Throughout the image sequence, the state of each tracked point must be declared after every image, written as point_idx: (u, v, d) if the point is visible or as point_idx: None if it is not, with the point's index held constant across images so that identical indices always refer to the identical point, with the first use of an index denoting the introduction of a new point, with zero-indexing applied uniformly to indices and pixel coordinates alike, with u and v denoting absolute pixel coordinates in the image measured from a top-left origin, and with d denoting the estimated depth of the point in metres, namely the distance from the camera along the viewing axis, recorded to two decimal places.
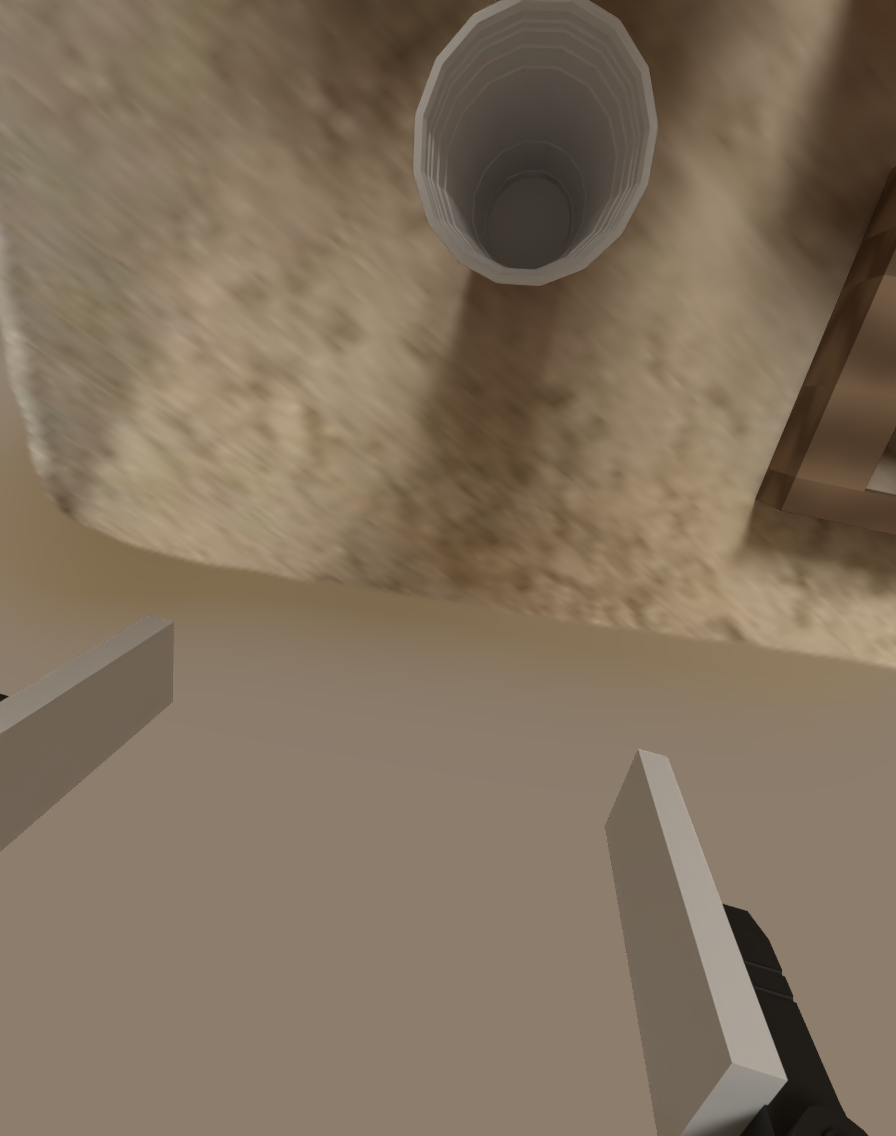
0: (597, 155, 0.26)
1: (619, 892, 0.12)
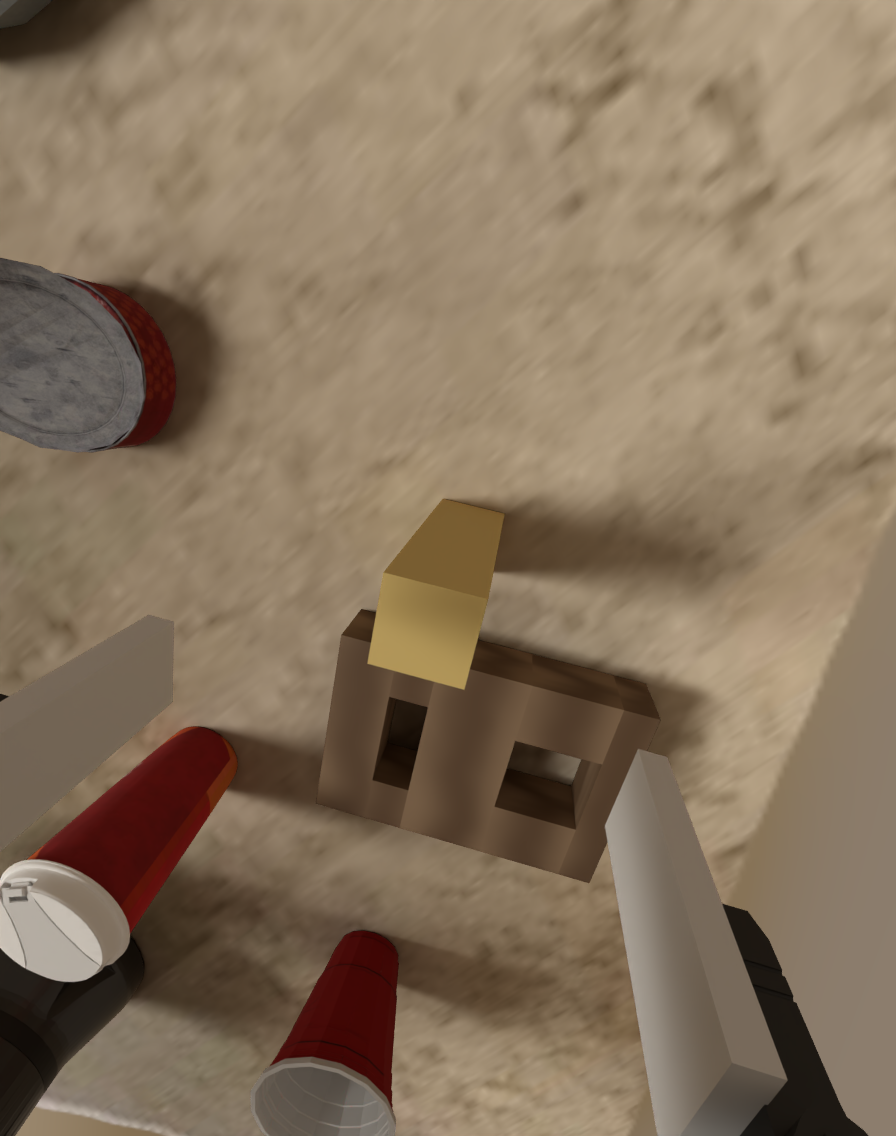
0: None
1: (620, 892, 0.12)
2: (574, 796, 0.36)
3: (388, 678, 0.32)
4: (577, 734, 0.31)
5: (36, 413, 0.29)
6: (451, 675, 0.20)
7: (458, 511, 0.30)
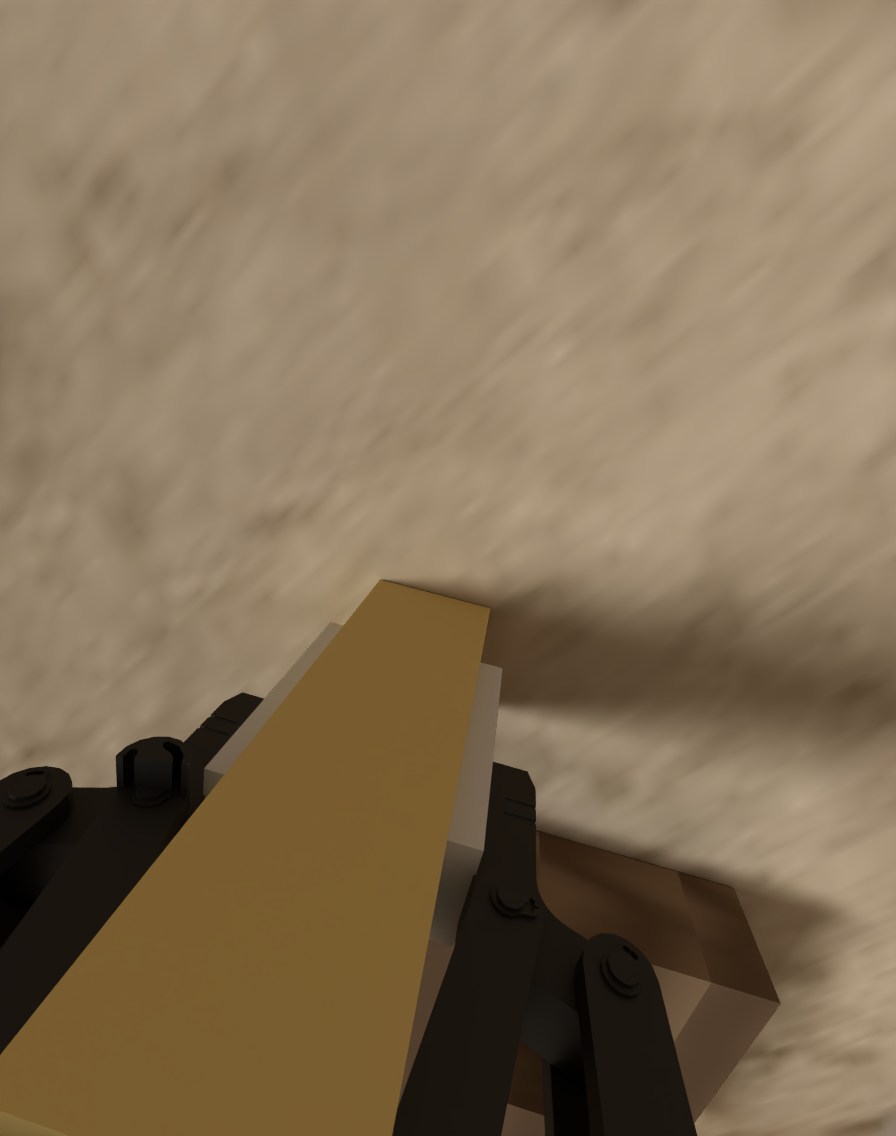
0: None
1: None
2: None
3: None
4: None
5: None
6: None
7: (400, 615, 0.16)
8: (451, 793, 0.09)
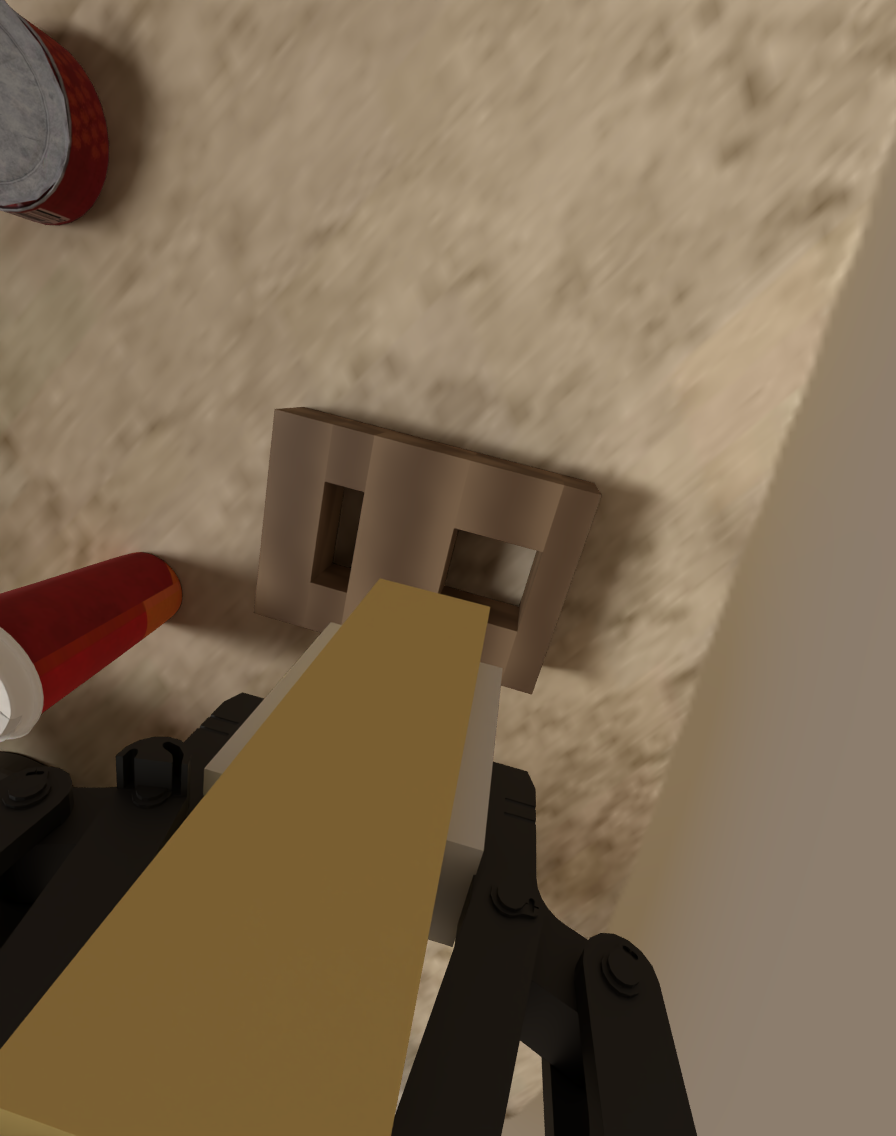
0: None
1: None
2: (520, 609, 0.35)
3: (323, 459, 0.31)
4: (517, 517, 0.30)
5: None
6: None
7: (400, 614, 0.16)
8: (451, 791, 0.09)
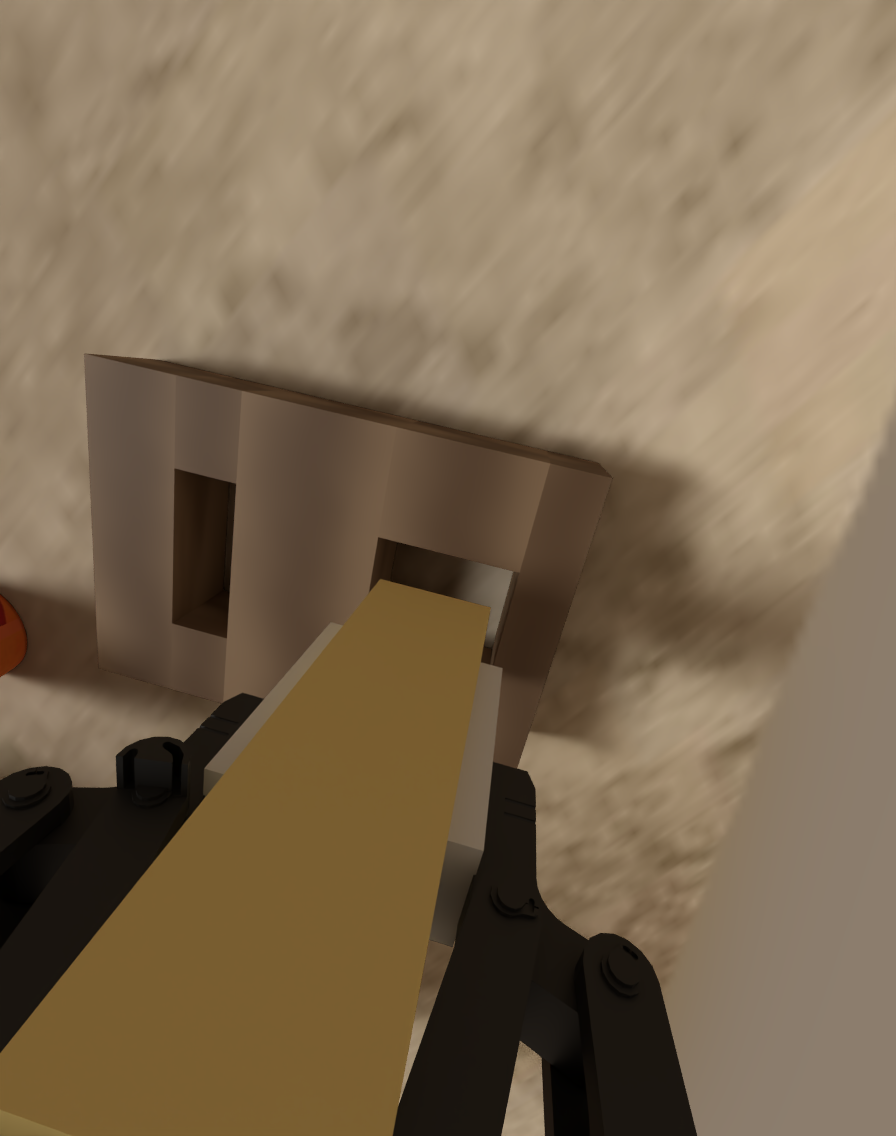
0: None
1: None
2: (491, 655, 0.23)
3: (167, 433, 0.19)
4: (476, 518, 0.19)
5: None
6: None
7: (400, 614, 0.16)
8: (451, 792, 0.09)
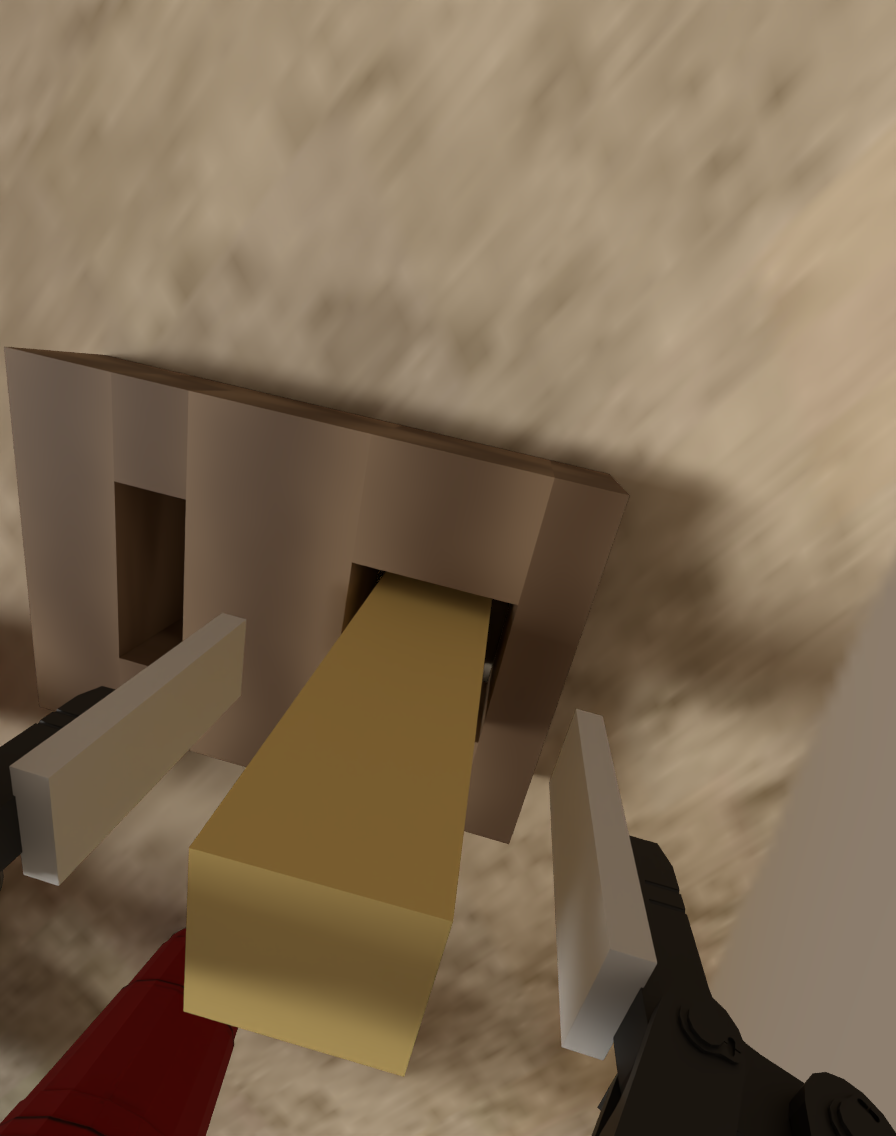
0: None
1: (554, 836, 0.13)
2: (486, 693, 0.20)
3: (105, 440, 0.17)
4: (466, 541, 0.16)
5: None
6: (373, 1050, 0.09)
7: (419, 581, 0.18)
8: (475, 703, 0.12)
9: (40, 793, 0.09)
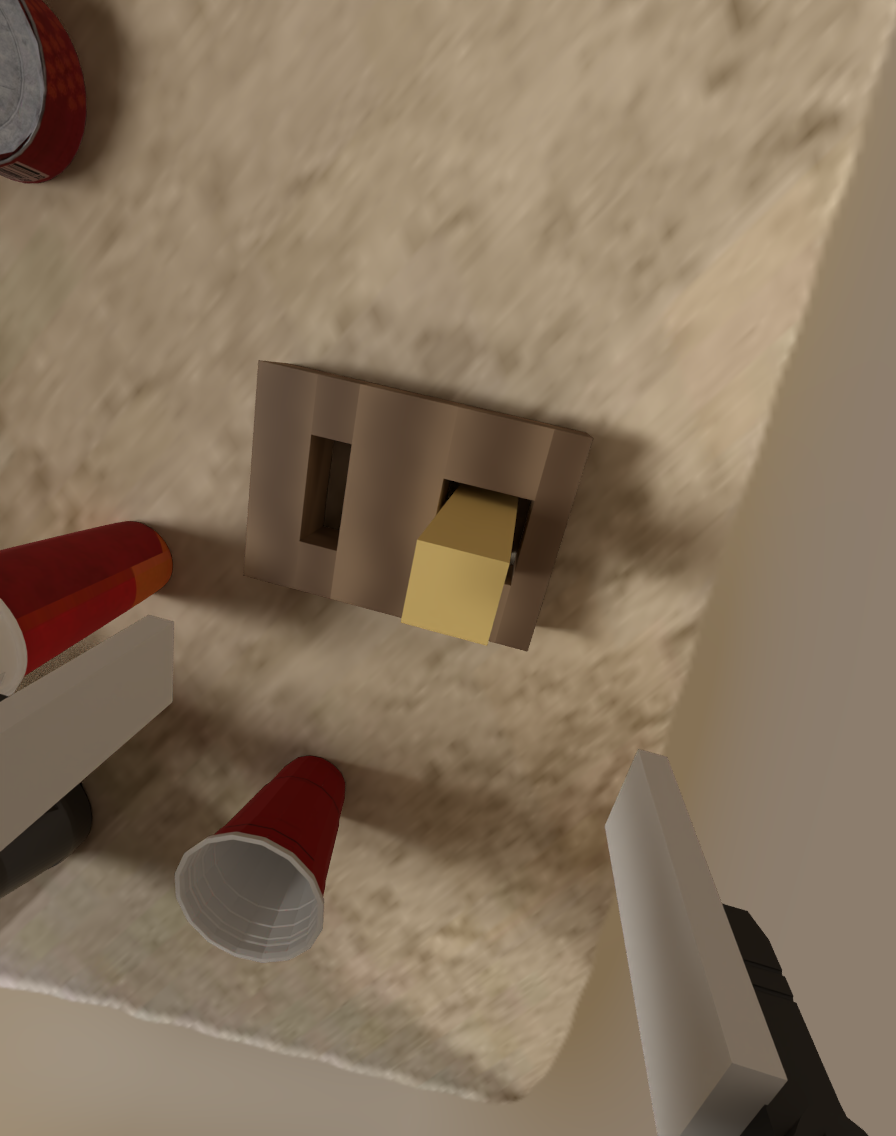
0: None
1: (619, 891, 0.12)
2: (513, 566, 0.34)
3: (309, 411, 0.30)
4: (507, 464, 0.29)
5: None
6: (475, 632, 0.22)
7: (476, 493, 0.32)
8: (512, 529, 0.26)
9: None
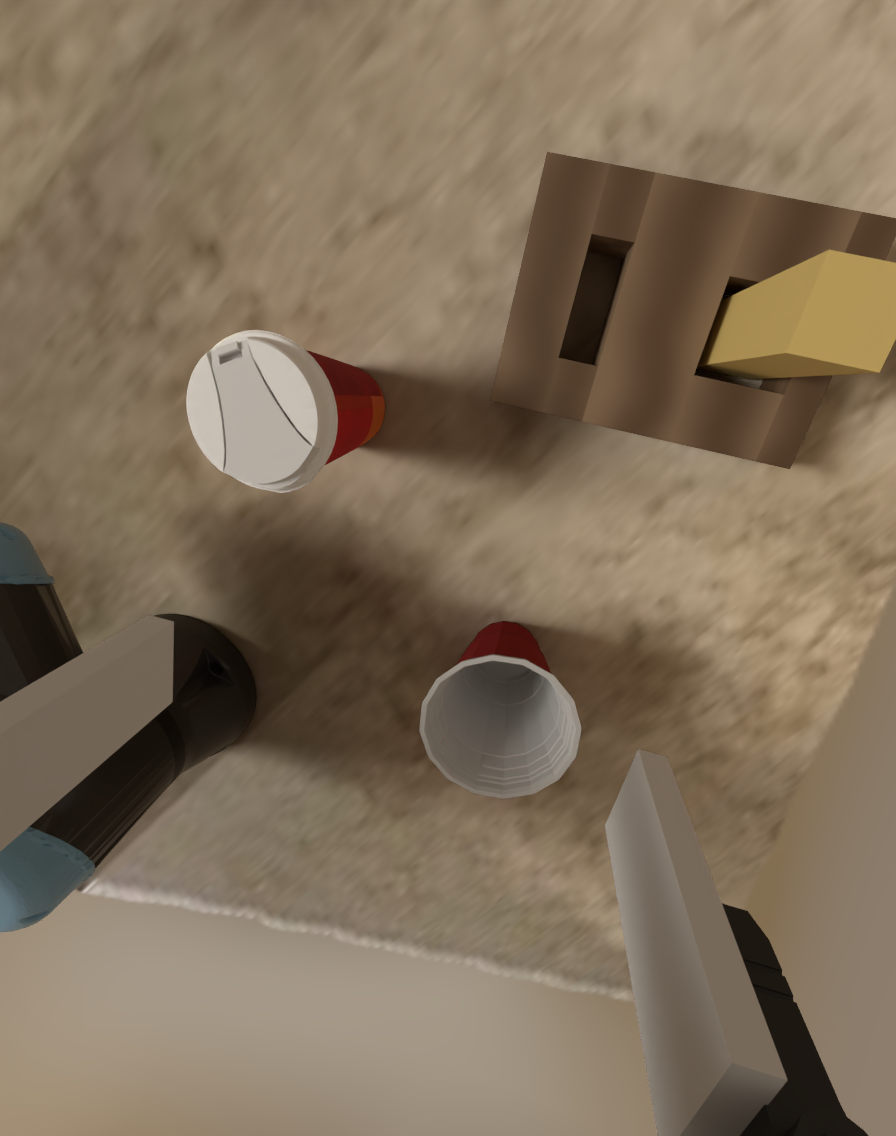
0: None
1: (619, 892, 0.12)
2: (769, 387, 0.34)
3: (593, 207, 0.30)
4: (803, 256, 0.29)
5: None
6: (870, 357, 0.22)
7: None
8: None
9: None
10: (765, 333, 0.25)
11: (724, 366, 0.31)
